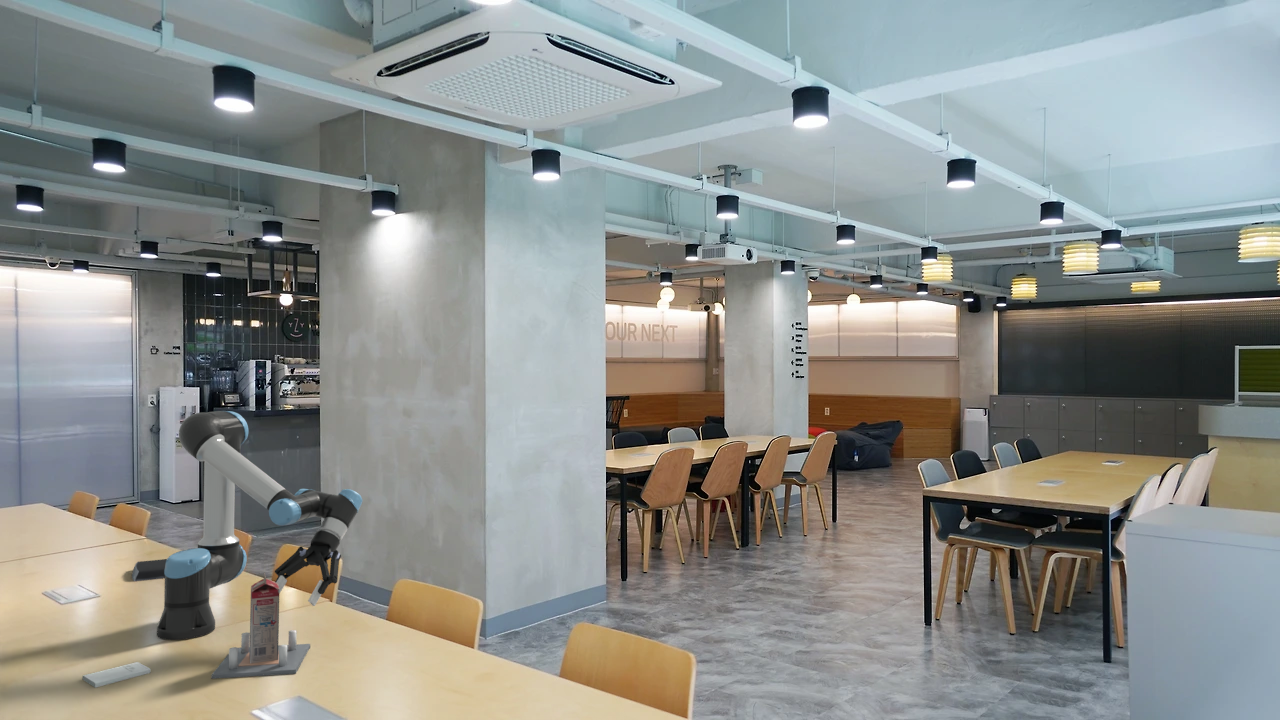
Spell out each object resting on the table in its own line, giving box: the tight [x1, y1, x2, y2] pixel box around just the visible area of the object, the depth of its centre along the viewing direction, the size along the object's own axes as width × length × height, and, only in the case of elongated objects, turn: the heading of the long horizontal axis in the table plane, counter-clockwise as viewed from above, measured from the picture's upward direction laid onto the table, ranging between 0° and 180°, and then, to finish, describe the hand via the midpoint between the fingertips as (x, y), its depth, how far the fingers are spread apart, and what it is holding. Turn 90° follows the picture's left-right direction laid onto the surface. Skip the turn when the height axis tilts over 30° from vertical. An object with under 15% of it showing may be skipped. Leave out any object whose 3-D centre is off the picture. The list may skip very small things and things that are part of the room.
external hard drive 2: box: [82, 661, 151, 688], centre depth 204 cm, size 2×8×12 cm
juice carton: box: [249, 572, 280, 664], centre depth 215 cm, size 7×7×22 cm
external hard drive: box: [131, 558, 167, 582], centre depth 304 cm, size 13×19×4 cm
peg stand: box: [210, 629, 311, 679], centre depth 215 cm, size 20×20×6 cm
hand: (291, 601), depth 225 cm, fingers open, 13 cm apart
